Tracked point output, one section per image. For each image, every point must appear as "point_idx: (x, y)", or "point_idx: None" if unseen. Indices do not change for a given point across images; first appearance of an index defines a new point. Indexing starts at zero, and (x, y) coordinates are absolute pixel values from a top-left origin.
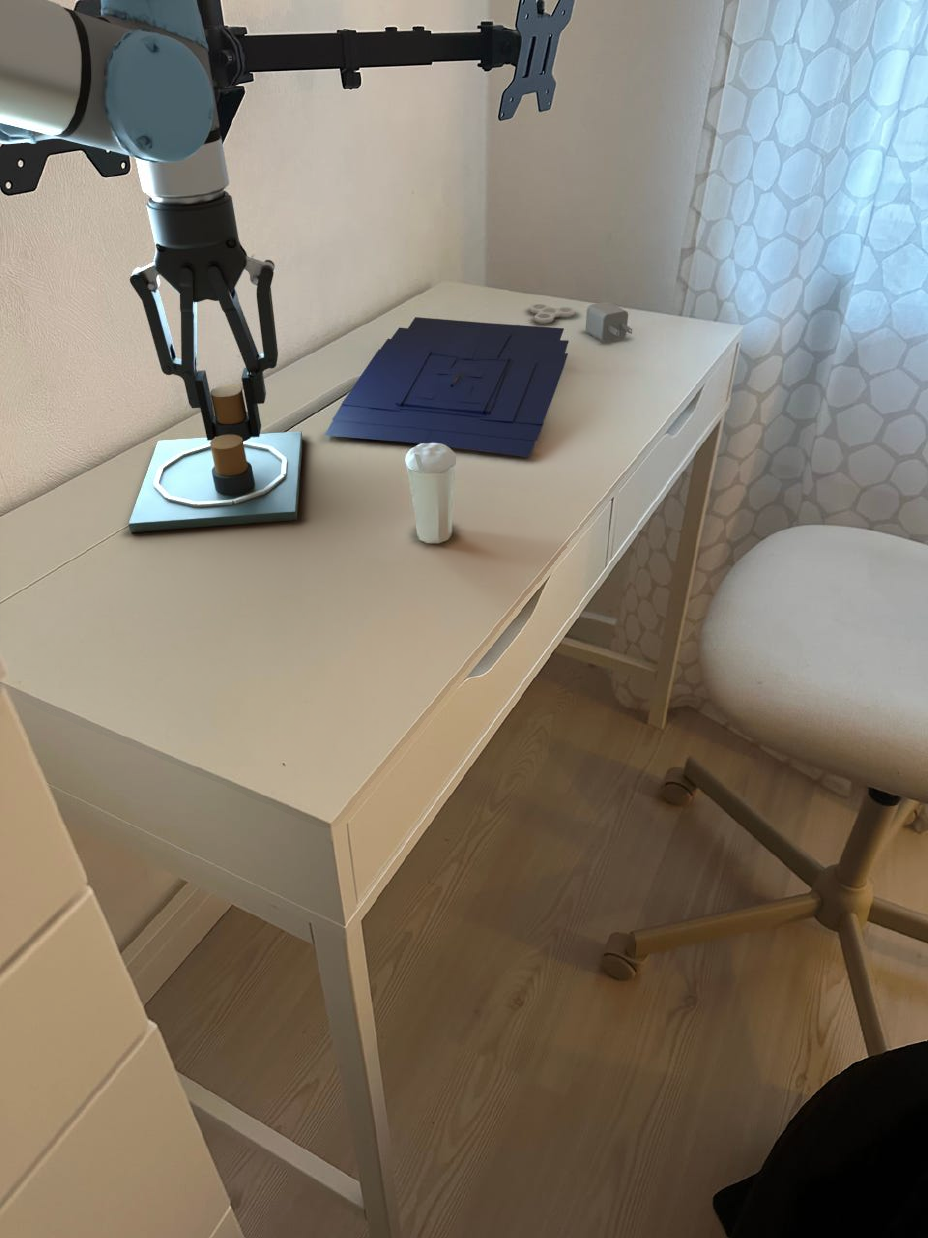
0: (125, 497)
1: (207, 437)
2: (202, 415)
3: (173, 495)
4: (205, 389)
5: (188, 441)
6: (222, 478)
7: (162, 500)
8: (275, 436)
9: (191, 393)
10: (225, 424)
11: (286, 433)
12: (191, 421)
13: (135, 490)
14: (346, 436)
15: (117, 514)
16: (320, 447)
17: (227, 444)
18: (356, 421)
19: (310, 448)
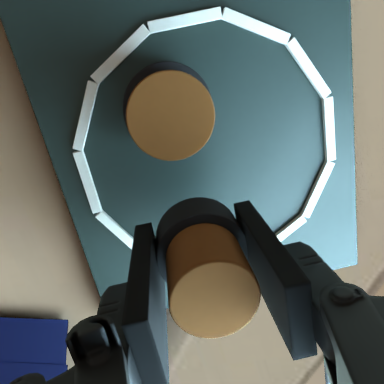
0: (374, 81)
1: (249, 203)
2: (267, 226)
3: (282, 58)
4: (272, 282)
5: None
6: (175, 62)
7: (299, 34)
8: None
9: (312, 265)
10: (207, 221)
11: None
12: (317, 343)
13: (361, 109)
14: (23, 320)
15: (377, 12)
16: (67, 287)
17: (161, 98)
18: (18, 364)
19: (84, 282)
